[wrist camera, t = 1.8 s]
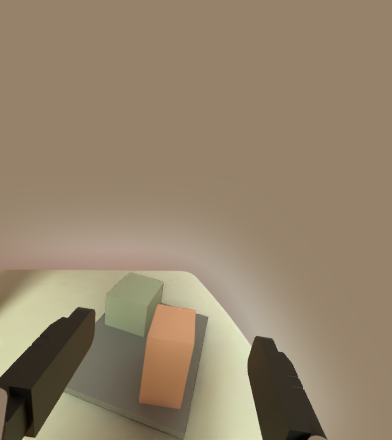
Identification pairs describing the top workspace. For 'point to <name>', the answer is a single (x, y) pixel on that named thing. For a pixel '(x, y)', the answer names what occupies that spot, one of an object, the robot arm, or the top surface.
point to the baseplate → (131, 377)
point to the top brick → (167, 356)
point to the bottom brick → (133, 303)
